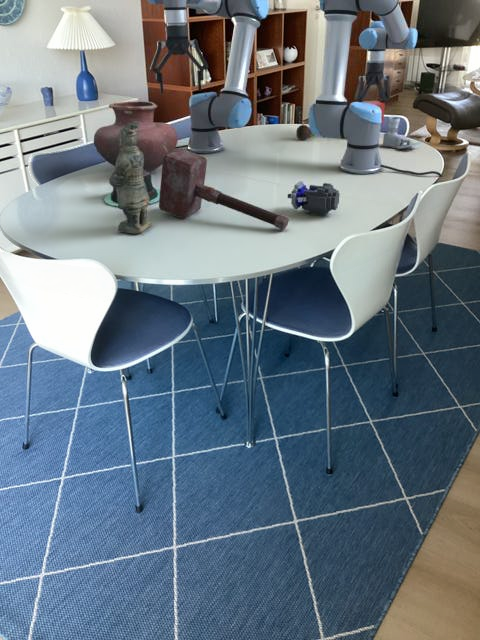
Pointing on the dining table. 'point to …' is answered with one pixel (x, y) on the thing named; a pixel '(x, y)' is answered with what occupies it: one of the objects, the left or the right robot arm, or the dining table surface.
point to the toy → (315, 198)
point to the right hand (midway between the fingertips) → (370, 116)
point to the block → (379, 104)
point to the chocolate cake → (152, 192)
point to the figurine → (303, 132)
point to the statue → (131, 182)
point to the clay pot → (137, 134)
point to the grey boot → (396, 136)
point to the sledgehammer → (200, 190)
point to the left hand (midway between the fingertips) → (181, 91)
